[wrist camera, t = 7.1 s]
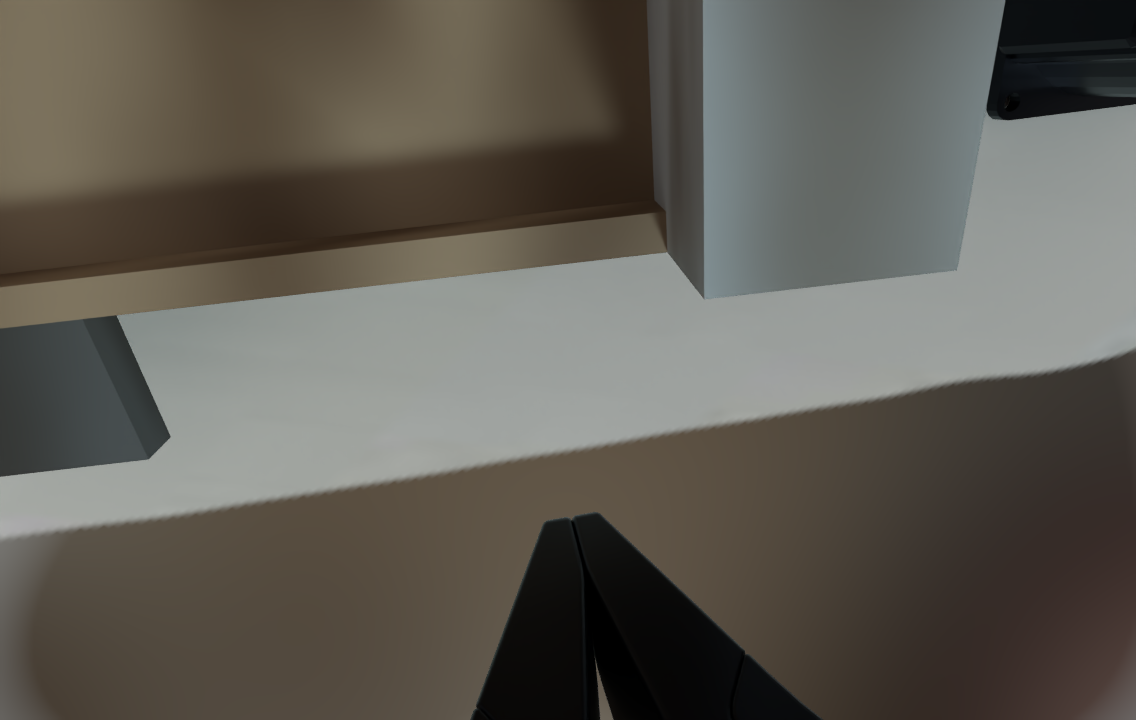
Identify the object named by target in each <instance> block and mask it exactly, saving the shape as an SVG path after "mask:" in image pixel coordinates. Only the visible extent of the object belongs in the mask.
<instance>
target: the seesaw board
mask: <svg viewBox="0 0 1136 720" xmlns="http://www.w3.org/2000/svg"><path fill="white" fill-rule="evenodd" d="M1004 6H1005V0H0V477H1V476H10V475H18V474H27V473H35V472H44V471H53V470H61V469H70V468H78V467H87V466H95V465H104V464H112V463H121V462H129V461H138V460H147V459H149V458H150V457H151V456H152V455H153V454H154V453H155V452H156V451H157V450H158V449H159V448H160V447H161V446H162V445H163V444H164V443H165V442H166V441H167V440H168V439H169V438H170V437H171V436H170V434H169V432H168V430H167V428H166V425H165V423H164V421H163V419H162V416H161V414H160V412H159V410H158V407H157V405H156V403H155V401H154V399H153V396H152V394H151V392H150V390H149V387H148V385H147V383H146V381H145V378H144V376H143V374H142V372H141V370H140V367H139V365H138V363H137V361H136V358H135V356H134V354H133V352H132V349H131V347H130V345H129V343H128V340H127V338H126V336H125V334H124V332H123V329H122V327H121V325H120V323H119V320H118V318H117V316H116V315H123V314H131V313H140V312H149V311H158V310H166V309H175V308H184V307H192V306H201V305H210V304H219V303H227V302H236V301H245V300H254V299H262V298H271V297H280V296H289V295H297V294H306V293H315V292H324V291H332V290H341V289H350V288H358V287H367V286H376V285H385V284H393V283H402V282H411V281H420V280H428V279H437V278H446V277H455V276H463V275H472V274H481V273H489V272H498V271H507V270H516V269H524V268H533V267H542V266H551V265H559V264H568V263H577V262H586V261H594V260H603V259H612V258H621V257H629V256H638V255H647V254H655V253H664V252H668V254H669V255H670V256H671V257H672V259H673V260H674V261H675V263H676V264H677V265H678V266H679V268H680V269H681V270H682V271H683V273H684V274H685V275H686V277H687V278H688V279H689V280H690V282H691V283H692V284H693V286H694V287H695V288H696V289H697V291H698V292H699V293H700V294H701V296H702V297H703V298H704V299H711V298H720V297H729V296H737V295H746V294H755V293H763V292H772V291H781V290H789V289H798V288H807V287H815V286H824V285H833V284H841V283H850V282H859V281H867V280H876V279H885V278H893V277H902V276H911V275H919V274H928V273H937V272H945V271H954V270H957V267H958V262H959V256H960V251H961V245H962V239H963V234H964V228H965V223H966V217H967V212H968V206H969V200H970V195H971V189H972V184H973V178H974V173H975V167H976V161H977V156H978V150H979V145H980V139H981V134H982V128H983V122H984V117H985V111H986V106H987V100H988V95H989V89H990V83H991V78H992V72H993V67H994V61H995V56H996V50H997V45H998V39H999V33H1000V28H1001V22H1002V17H1003V11H1004Z"/></svg>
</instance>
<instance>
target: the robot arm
mask: <svg viewBox="0 0 1136 720" xmlns="http://www.w3.org/2000/svg"><path fill="white" fill-rule="evenodd" d="M1008 96H1010V101H1009V104H1008V106H1007V107H1006V108H1004V103H1005V100H1006V98H1007V97H1008ZM1133 104H1136V0H1005V6H1004V11H1003V17H1002V22H1001V28H1000V33H999V39H998V45H997V50H996V56H995V61H994V67H993V72H992V78H991V83H990V89H989V95H988V100H987V113H988V115H989V116H990V117H991V118H992V119H998V120H1015V119H1023V118H1031V117H1039V116H1046V115H1054V114H1062V113H1070V112H1078V111H1086V110H1094V109H1102V108H1109V107H1117V106H1125V105H1133ZM595 659H596V663H597V668H598V671H599V675H600V678H601V682H602V685H603V688H604V691H605V694H606V697H607V700H608V704H609V707H610V710H611V713H612V716H613V719H614V720H823V719H822V718H820V717H819V716H818V715H817V714H815V713H814V712H813V711H812V710H811V709H809V708H808V707H807V706H805V705H804V704H803V703H802V702H801V701H800V700H798V699H797V698H796V697H795V696H794V695H793V694H792V693H791V692H790V691H788V690H787V689H786V688H785V687H784V686H783V685H782V684H780V683H779V682H778V681H777V680H776V679H775V678H774V677H773V676H772V675H770V674H769V673H768V672H767V671H766V670H765V669H764V668H763V667H762V666H761V665H760V664H759V663H758V662H757V661H756V660H755V659H754V658H753V657H752V656H750V655H749V654H746V655H745V650H744V649H743V648H742V647H740V645H738V644H737V643H736V642H735V641H734V640H733V639H732V638H731V637H730V636H729V635H728V634H727V633H726V632H725V631H724V630H723V629H722V628H721V627H719V626H718V625H717V624H716V623H715V622H714V621H713V620H712V619H711V618H710V617H709V616H708V615H707V614H706V613H704V611H703V610H701V609H700V608H699V607H698V606H697V605H696V604H695V603H694V602H693V601H692V600H691V599H690V598H689V597H688V596H687V595H686V594H685V593H683V592H682V591H681V590H680V589H679V588H678V587H677V586H676V585H675V584H674V583H673V582H672V581H671V580H670V579H669V578H668V577H666V576H665V575H664V574H663V573H662V572H661V571H660V570H659V569H658V568H657V567H656V566H655V565H654V564H653V563H652V562H651V561H650V560H649V559H648V558H646V557H645V556H644V555H643V554H642V553H641V552H640V551H639V550H638V549H637V548H636V547H635V546H634V545H632V543H630V541H628V540H627V539H626V538H625V537H624V536H623V535H622V534H621V533H620V532H619V531H618V530H617V529H616V528H615V527H614V526H613V525H612V524H610V523H609V522H608V521H607V520H606V519H605V518H604V517H603V516H602V515H601V514H600V513H597V512H593V513H587V514H581V515H576V516H574V517H573V519H572V520H571V519H570V518H568V517H564V518H559V519H553V520H548V521H546V522H544V524H543V526H542V528H541V531H540V533H539V536H538V539H537V542H536V544H535V547H534V550H533V553H532V555H531V558H530V560H529V563H528V566H527V569H526V571H525V574H524V577H523V579H522V582H521V585H520V588H519V591H518V593H517V596H516V599H515V601H514V604H513V606H512V609H511V612H510V615H509V617H508V620H507V623H506V625H505V628H504V631H503V634H502V637H501V639H500V642H499V644H498V647H497V650H496V652H495V655H494V658H493V661H492V663H491V666H490V669H489V671H488V674H487V677H486V679H485V683H484V685H483V688H482V690H481V693H480V696H479V698H478V701H477V704H476V707H477V709H475V710H474V711H473V714H472V717H471V719H470V720H600V710H599V696H598V682H597V672H596V663H595Z"/></svg>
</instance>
